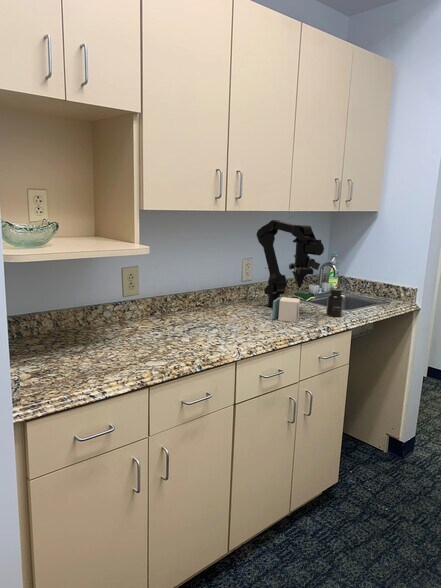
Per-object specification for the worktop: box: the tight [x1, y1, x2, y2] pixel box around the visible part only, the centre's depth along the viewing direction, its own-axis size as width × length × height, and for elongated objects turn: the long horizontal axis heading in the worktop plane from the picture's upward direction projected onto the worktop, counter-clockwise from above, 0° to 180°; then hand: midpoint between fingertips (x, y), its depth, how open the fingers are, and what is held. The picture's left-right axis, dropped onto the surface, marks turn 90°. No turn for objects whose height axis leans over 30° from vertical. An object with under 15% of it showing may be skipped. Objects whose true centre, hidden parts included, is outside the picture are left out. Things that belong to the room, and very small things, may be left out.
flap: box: [271, 297, 282, 320], centre depth 197 cm, size 9×2×8 cm, turn 156°
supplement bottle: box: [325, 288, 344, 318], centre depth 207 cm, size 7×7×12 cm
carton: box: [277, 297, 301, 323], centre depth 196 cm, size 9×8×8 cm
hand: (299, 287), depth 207 cm, fingers closed
